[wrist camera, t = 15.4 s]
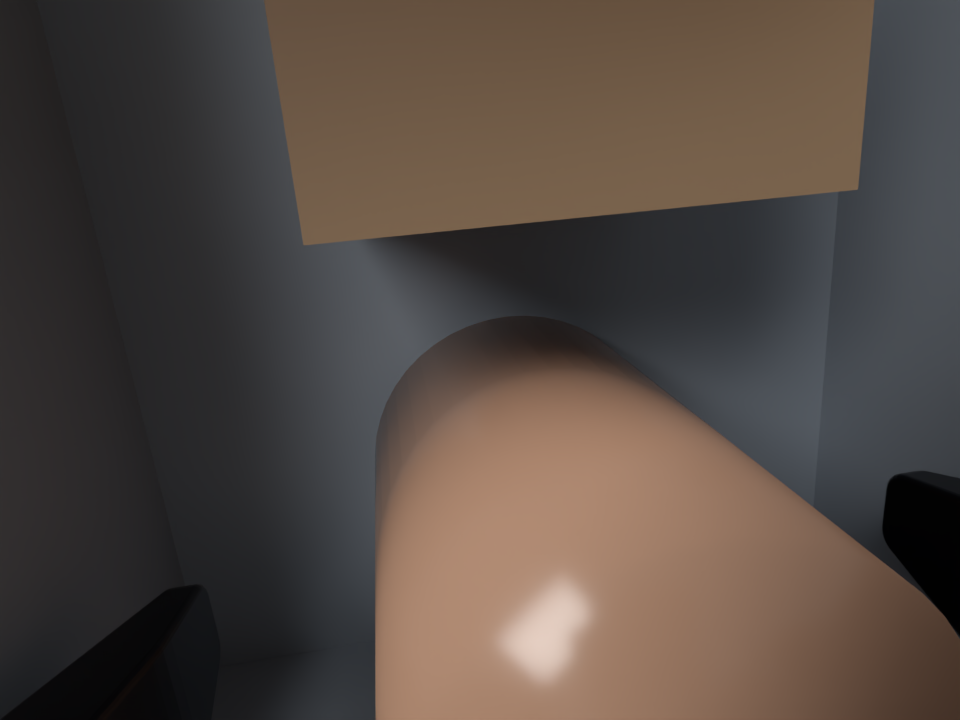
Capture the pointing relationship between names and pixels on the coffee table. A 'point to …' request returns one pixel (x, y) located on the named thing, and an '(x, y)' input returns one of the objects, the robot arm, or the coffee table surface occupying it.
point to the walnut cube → (561, 107)
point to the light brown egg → (617, 557)
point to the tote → (392, 336)
